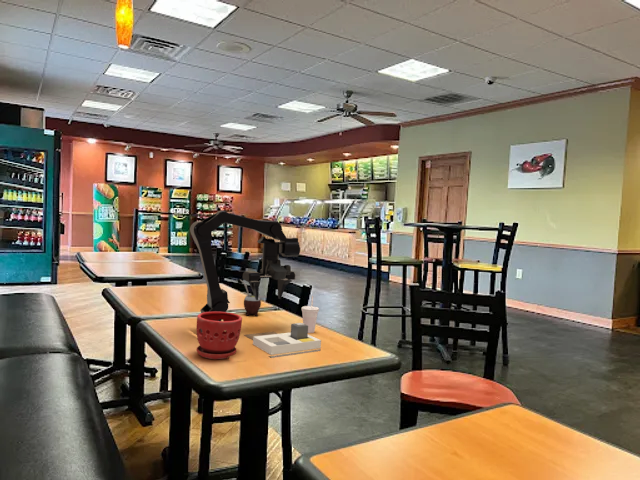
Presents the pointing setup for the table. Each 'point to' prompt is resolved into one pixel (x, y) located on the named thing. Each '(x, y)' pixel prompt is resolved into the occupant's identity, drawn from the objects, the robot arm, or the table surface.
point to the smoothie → (310, 316)
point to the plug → (299, 331)
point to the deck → (259, 334)
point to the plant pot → (218, 334)
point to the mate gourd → (251, 304)
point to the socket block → (285, 344)
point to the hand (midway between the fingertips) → (268, 299)
